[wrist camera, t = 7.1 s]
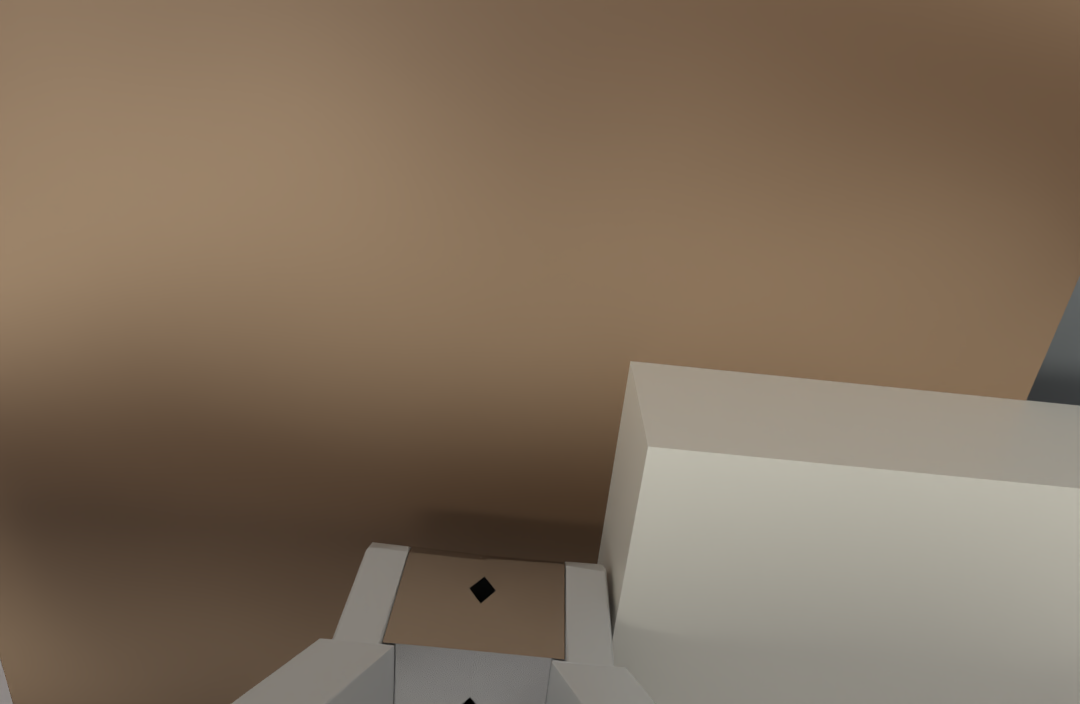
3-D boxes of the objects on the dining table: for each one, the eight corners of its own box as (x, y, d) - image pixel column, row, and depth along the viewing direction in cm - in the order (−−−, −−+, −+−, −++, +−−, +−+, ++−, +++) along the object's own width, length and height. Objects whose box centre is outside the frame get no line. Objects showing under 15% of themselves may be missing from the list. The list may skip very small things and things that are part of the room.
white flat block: (1135, 756, 12) (1243, 892, 10) (574, 703, 11) (576, 832, 10) (1342, 431, 9) (1538, 533, 7) (630, 361, 9) (647, 446, 7)
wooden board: (748, 848, 17) (777, 978, 14) (140, 791, 16) (72, 913, 14) (1123, -218, 8) (1328, -305, 6) (-83, -359, 8) (-330, -507, 6)
